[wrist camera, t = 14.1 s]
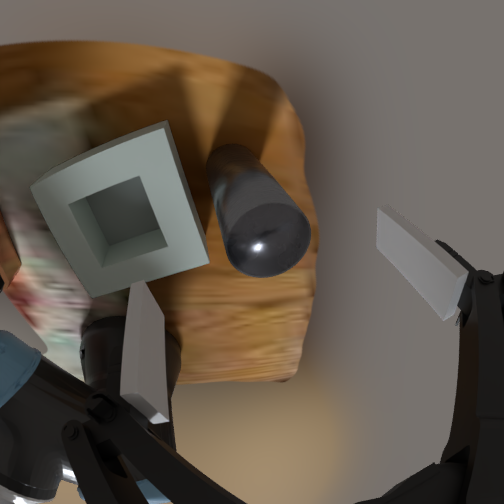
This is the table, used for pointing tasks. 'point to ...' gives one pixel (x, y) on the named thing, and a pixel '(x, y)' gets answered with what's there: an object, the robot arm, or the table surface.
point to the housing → (123, 212)
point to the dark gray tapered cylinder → (255, 214)
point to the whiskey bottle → (7, 257)
